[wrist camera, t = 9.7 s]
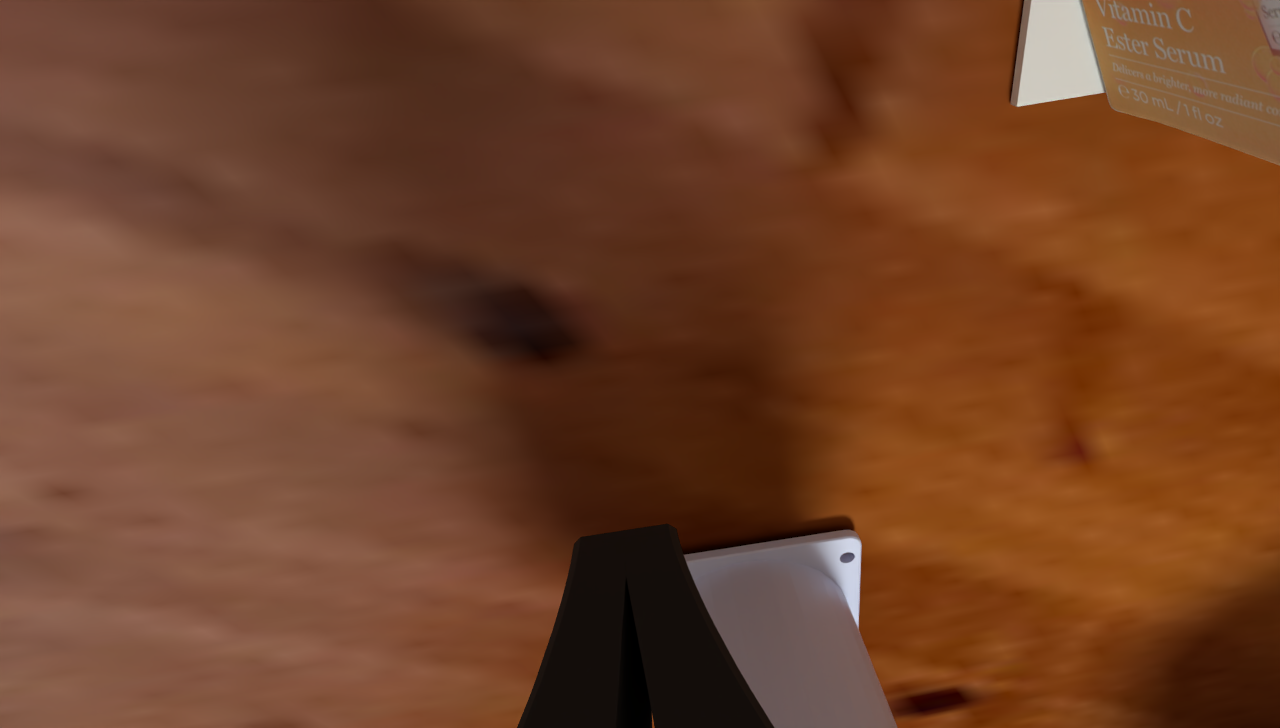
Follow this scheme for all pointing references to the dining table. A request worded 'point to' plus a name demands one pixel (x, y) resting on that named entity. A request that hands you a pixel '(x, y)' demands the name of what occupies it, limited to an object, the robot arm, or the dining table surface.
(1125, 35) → the small box
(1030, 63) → the mat
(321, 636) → the dining table surface
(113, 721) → the dining table surface
